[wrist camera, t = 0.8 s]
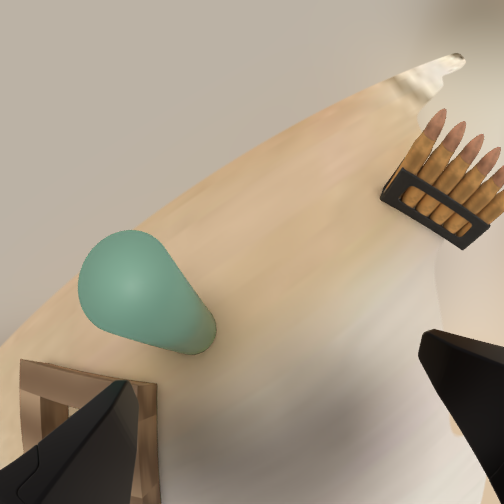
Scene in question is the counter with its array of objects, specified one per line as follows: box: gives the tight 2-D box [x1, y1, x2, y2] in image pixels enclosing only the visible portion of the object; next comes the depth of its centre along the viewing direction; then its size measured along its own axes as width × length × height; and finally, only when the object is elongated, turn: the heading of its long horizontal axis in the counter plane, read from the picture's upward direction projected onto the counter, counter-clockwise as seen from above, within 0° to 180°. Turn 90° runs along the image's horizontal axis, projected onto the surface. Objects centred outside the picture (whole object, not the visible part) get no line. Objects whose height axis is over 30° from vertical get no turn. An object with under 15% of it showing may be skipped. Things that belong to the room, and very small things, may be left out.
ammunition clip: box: [380, 109, 504, 250], centre depth 20 cm, size 11×2×12 cm, turn 60°
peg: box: [78, 230, 216, 355], centre depth 16 cm, size 4×4×12 cm
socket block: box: [20, 359, 161, 504], centre depth 16 cm, size 11×11×4 cm
